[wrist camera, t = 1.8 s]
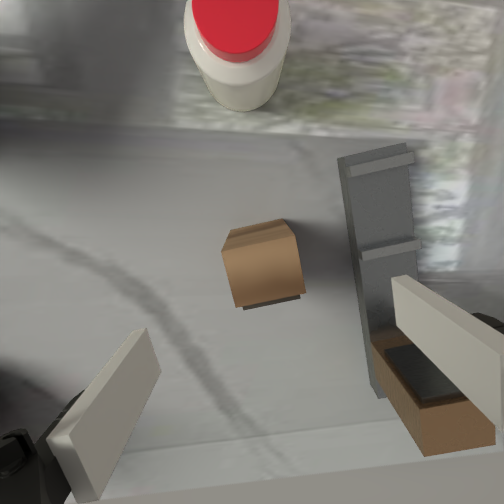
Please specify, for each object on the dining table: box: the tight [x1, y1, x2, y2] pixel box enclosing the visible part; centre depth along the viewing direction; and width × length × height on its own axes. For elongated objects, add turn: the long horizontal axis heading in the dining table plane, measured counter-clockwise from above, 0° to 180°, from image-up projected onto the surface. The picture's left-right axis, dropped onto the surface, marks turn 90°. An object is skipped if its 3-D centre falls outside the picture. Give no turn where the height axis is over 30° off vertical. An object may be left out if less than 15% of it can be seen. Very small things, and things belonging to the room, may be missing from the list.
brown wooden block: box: [221, 219, 306, 310], centre depth 28 cm, size 6×6×10 cm
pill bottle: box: [184, 0, 291, 112], centre depth 23 cm, size 8×8×11 cm
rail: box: [337, 142, 496, 457], centre depth 28 cm, size 29×6×12 cm, turn 13°
